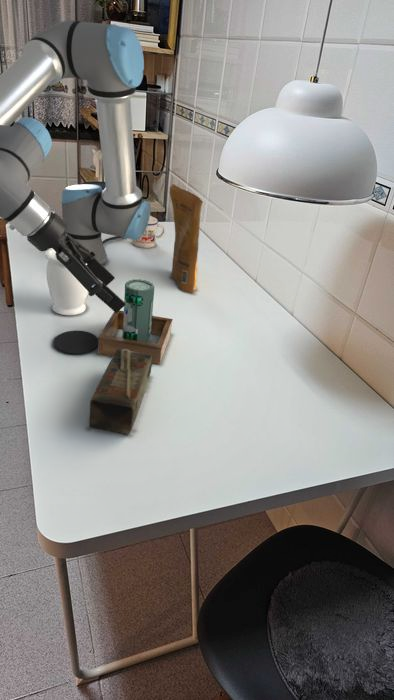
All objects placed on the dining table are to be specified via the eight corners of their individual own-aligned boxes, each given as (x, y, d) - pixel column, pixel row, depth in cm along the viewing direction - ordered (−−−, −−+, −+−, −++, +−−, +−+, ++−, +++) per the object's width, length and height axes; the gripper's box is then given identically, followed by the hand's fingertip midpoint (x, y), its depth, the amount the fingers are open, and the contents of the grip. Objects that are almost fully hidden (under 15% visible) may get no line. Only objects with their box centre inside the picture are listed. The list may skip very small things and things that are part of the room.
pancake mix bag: (180, 296, 136) (191, 198, 122) (161, 271, 151) (168, 181, 137) (202, 295, 139) (214, 199, 124) (180, 270, 153) (190, 181, 139)
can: (121, 338, 112) (123, 279, 104) (146, 336, 114) (150, 279, 106) (125, 351, 107) (128, 291, 100) (151, 349, 109) (156, 290, 102)
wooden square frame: (114, 325, 117) (115, 309, 115) (171, 334, 116) (172, 318, 114) (97, 354, 105) (97, 337, 103) (160, 364, 104) (161, 347, 102)
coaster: (63, 329, 112) (63, 327, 112) (104, 336, 112) (104, 334, 112) (46, 350, 104) (46, 348, 103) (90, 358, 103) (91, 355, 103)
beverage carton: (152, 377, 100) (154, 350, 96) (131, 437, 83) (133, 407, 80) (115, 371, 100) (115, 344, 96) (87, 430, 83) (87, 400, 80)
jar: (79, 321, 117) (79, 264, 109) (40, 313, 118) (37, 256, 110) (96, 304, 126) (96, 250, 118) (59, 297, 127) (57, 243, 119)
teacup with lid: (133, 248, 167) (134, 215, 161) (129, 239, 174) (130, 207, 168) (166, 248, 170) (169, 216, 164) (161, 240, 178) (163, 209, 172)
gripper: (24, 218, 100) (95, 282, 113) (25, 261, 80) (111, 333, 93) (49, 193, 99) (118, 261, 112) (57, 231, 79) (139, 308, 92)
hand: (115, 294), depth 102 cm, fingers open, 13 cm apart
